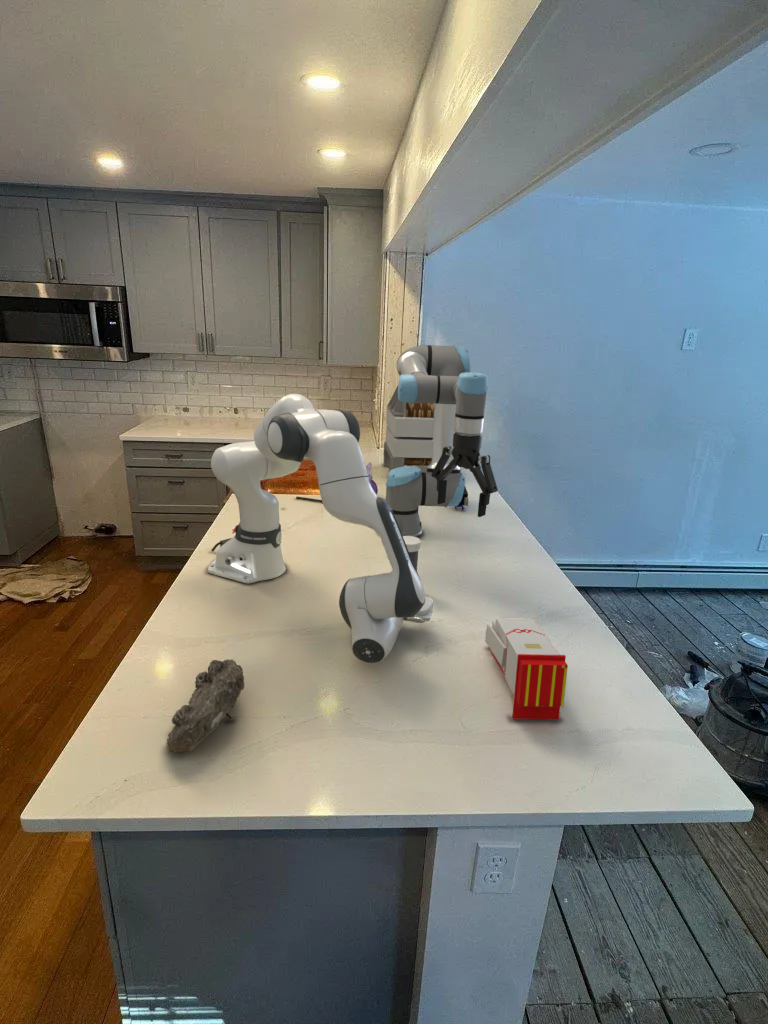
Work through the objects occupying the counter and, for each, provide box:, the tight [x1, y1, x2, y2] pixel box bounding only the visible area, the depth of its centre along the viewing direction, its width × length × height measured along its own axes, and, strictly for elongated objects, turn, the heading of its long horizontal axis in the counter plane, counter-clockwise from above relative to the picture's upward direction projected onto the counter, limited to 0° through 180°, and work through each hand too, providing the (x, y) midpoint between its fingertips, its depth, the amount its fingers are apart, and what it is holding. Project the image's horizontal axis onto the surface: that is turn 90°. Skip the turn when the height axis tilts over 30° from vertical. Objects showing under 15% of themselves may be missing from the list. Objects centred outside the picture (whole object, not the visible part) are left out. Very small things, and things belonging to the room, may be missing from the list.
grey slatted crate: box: [383, 385, 462, 473], centre depth 268 cm, size 34×33×41 cm
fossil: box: [166, 658, 245, 754], centre depth 106 cm, size 22×10×15 cm
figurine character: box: [454, 486, 470, 511], centre depth 230 cm, size 7×8×15 cm
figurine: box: [366, 461, 379, 495], centre depth 233 cm, size 9×10×15 cm
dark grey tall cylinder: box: [409, 550, 419, 572], centre depth 157 cm, size 5×5×15 cm
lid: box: [403, 536, 421, 552], centre depth 154 cm, size 6×6×2 cm
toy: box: [484, 617, 569, 720], centre depth 122 cm, size 12×13×30 cm
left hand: (398, 589), depth 146 cm, fingers open, 8 cm apart
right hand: (460, 509), depth 156 cm, fingers open, 13 cm apart
